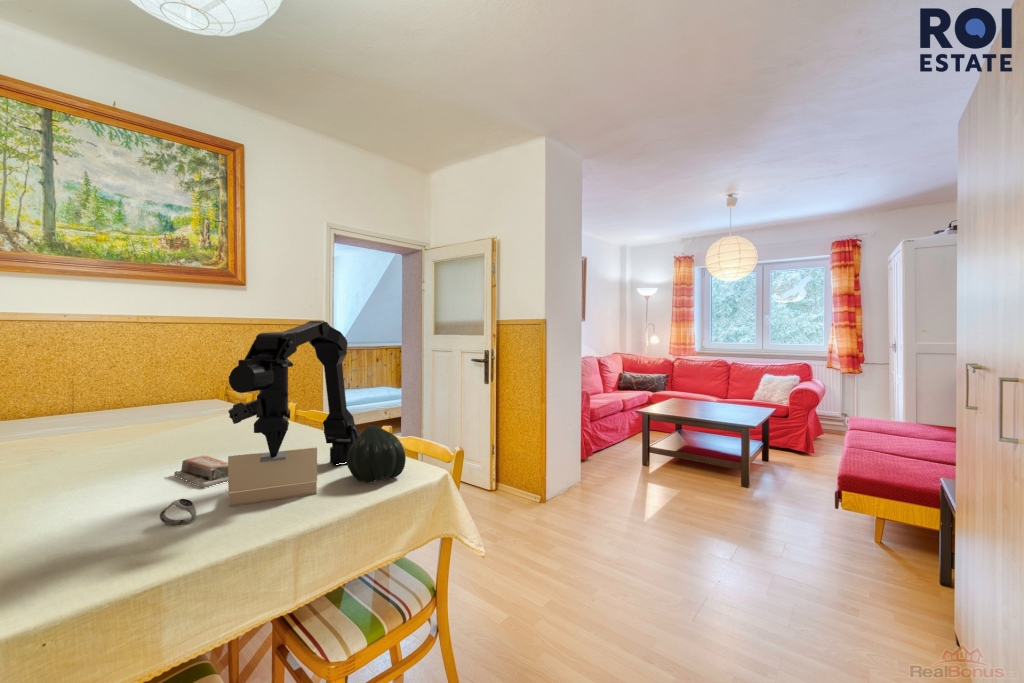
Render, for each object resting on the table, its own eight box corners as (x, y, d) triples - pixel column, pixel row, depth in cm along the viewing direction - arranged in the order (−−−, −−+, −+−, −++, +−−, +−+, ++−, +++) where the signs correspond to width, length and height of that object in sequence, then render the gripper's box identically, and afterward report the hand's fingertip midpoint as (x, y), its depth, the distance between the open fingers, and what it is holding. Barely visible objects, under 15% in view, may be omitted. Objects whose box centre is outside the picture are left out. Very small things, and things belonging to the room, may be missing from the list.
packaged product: (172, 460, 115) (213, 451, 124) (172, 477, 115) (213, 468, 124) (204, 471, 106) (246, 461, 115) (204, 490, 106) (246, 479, 115)
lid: (317, 447, 103) (317, 453, 98) (317, 479, 103) (317, 487, 98) (228, 456, 95) (224, 463, 90) (228, 491, 95) (224, 501, 90)
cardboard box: (315, 483, 110) (315, 472, 110) (316, 493, 103) (316, 481, 103) (234, 494, 102) (234, 482, 102) (229, 506, 95) (229, 493, 95)
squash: (409, 465, 108) (403, 415, 117) (347, 474, 103) (345, 421, 112) (405, 488, 118) (399, 440, 127) (348, 497, 113) (346, 446, 122)
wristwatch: (190, 526, 86) (190, 501, 86) (156, 528, 84) (155, 504, 84) (200, 518, 89) (199, 495, 89) (166, 521, 88) (166, 497, 88)
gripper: (237, 385, 100) (237, 450, 100) (224, 394, 84) (224, 472, 84) (290, 383, 105) (290, 445, 105) (287, 391, 89) (287, 465, 88)
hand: (273, 456), depth 95 cm, fingers closed, pressing on lid
